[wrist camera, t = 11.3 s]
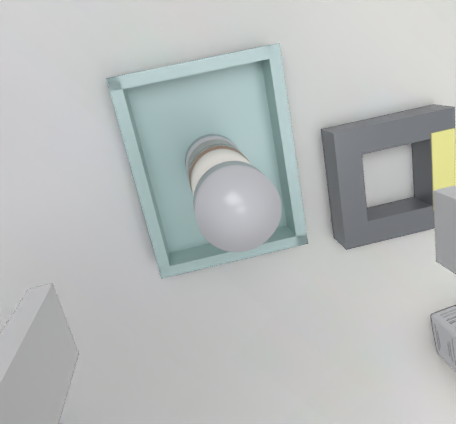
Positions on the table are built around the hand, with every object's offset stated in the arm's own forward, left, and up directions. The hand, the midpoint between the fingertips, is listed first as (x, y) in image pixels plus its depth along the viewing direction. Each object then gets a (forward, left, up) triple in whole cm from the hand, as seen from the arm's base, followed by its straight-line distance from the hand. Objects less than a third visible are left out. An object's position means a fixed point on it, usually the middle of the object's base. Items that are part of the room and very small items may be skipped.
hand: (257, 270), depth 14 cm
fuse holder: (+13, -4, -18) cm, 23 cm away
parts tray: (0, 0, -18) cm, 18 cm away
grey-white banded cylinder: (0, 0, -18) cm, 18 cm away
